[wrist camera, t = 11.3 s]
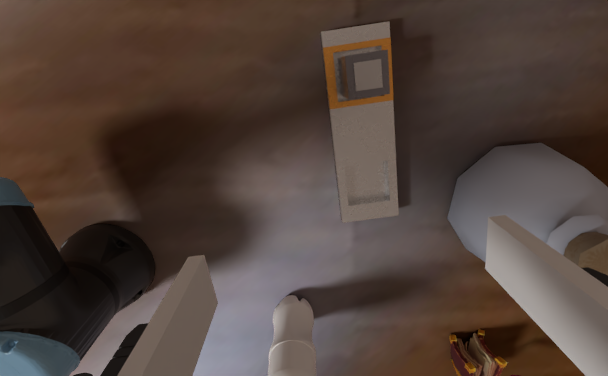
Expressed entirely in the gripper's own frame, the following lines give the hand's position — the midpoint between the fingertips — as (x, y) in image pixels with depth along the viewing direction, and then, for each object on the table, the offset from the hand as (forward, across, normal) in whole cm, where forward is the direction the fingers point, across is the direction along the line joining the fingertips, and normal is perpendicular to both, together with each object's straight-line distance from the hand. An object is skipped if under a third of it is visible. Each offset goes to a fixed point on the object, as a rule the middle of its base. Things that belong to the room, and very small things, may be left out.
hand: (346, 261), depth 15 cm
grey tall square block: (+36, +7, +7) cm, 37 cm away
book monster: (+37, +26, -47) cm, 65 cm away
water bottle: (+37, -8, -32) cm, 49 cm away
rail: (+37, +7, -1) cm, 37 cm away
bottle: (+37, +30, -16) cm, 50 cm away
